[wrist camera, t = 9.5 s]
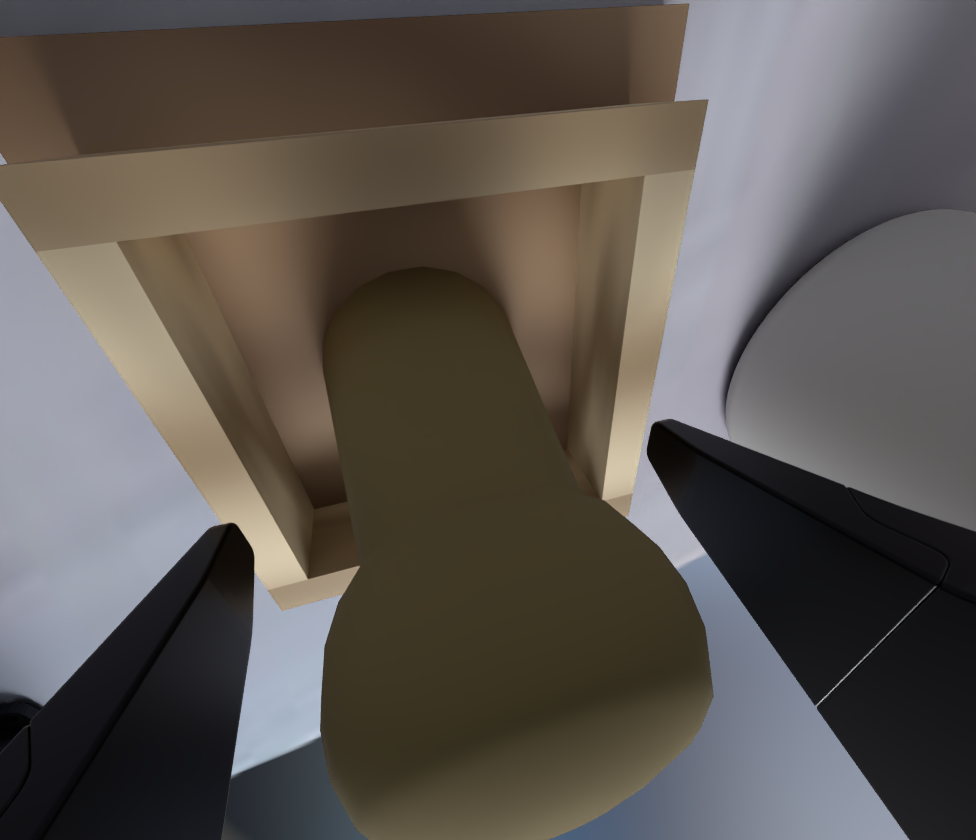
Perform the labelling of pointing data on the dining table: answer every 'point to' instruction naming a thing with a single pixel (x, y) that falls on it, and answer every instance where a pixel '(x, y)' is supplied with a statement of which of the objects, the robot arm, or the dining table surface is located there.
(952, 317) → the cylinder vase
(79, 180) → the socket block
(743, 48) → the dining table surface
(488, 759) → the cork
